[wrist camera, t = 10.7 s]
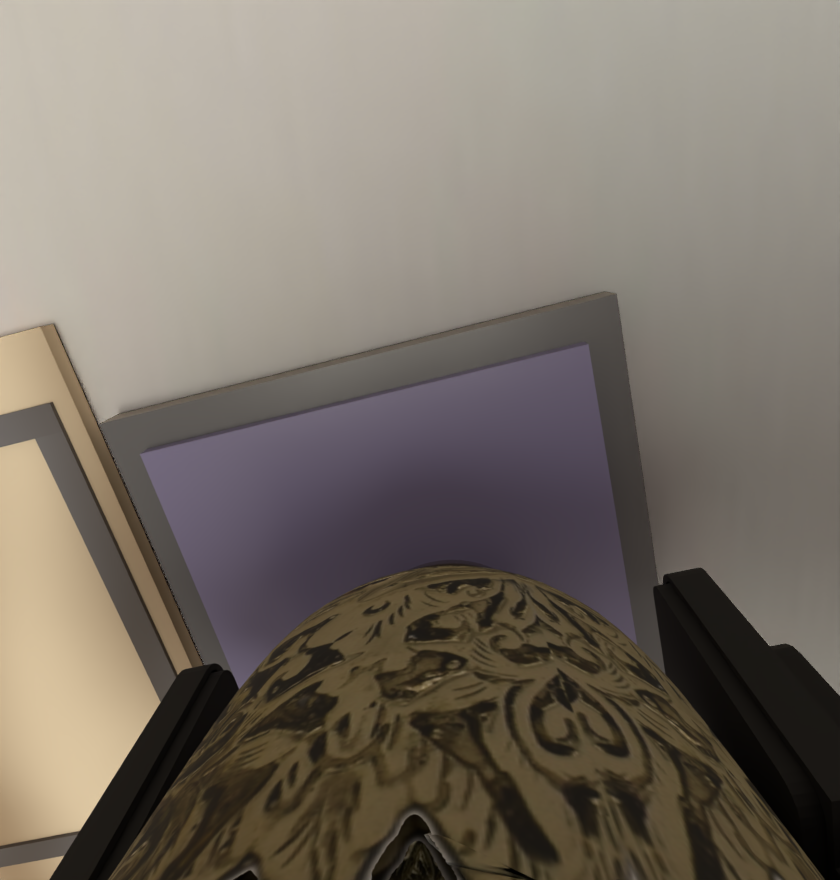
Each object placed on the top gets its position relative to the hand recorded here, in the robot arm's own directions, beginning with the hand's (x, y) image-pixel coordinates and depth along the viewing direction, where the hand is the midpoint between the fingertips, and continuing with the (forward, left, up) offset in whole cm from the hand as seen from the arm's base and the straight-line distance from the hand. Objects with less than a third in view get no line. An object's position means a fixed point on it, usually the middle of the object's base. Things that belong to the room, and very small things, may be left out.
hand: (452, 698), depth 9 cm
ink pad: (+1, 0, -4) cm, 4 cm away
